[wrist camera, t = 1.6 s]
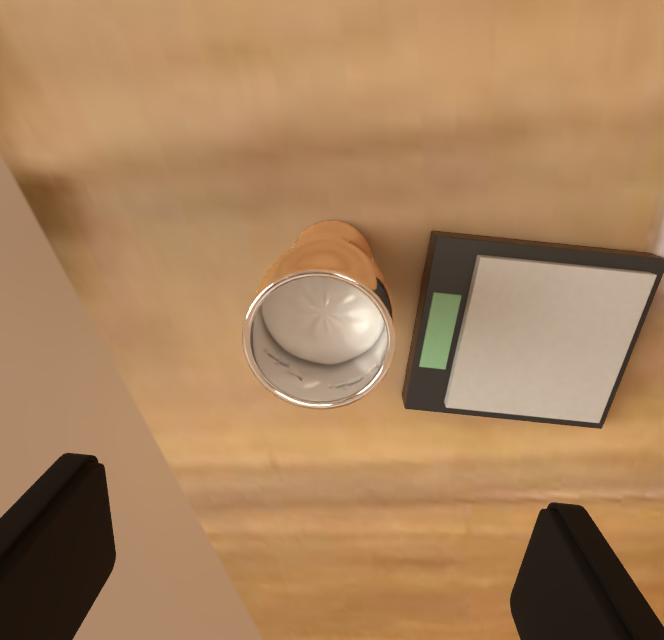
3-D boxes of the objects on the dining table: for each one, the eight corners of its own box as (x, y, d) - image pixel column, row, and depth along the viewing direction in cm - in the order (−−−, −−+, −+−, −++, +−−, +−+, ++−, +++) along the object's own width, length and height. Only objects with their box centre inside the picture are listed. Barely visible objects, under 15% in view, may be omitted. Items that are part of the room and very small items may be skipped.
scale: (401, 395, 36) (405, 414, 33) (431, 230, 31) (439, 237, 28) (589, 414, 36) (607, 435, 33) (650, 252, 31) (677, 262, 28)
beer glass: (357, 316, 34) (362, 433, 20) (273, 286, 33) (218, 384, 19) (393, 234, 31) (428, 300, 17) (303, 199, 30) (264, 238, 16)
